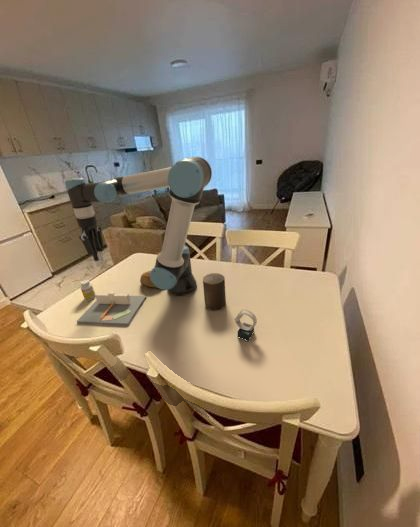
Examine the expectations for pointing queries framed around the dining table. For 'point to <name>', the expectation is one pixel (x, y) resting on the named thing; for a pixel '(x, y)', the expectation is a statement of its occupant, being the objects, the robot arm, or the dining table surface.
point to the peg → (112, 299)
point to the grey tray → (112, 312)
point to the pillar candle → (214, 291)
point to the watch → (245, 324)
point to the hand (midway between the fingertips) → (101, 265)
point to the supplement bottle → (87, 290)
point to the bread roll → (147, 280)
